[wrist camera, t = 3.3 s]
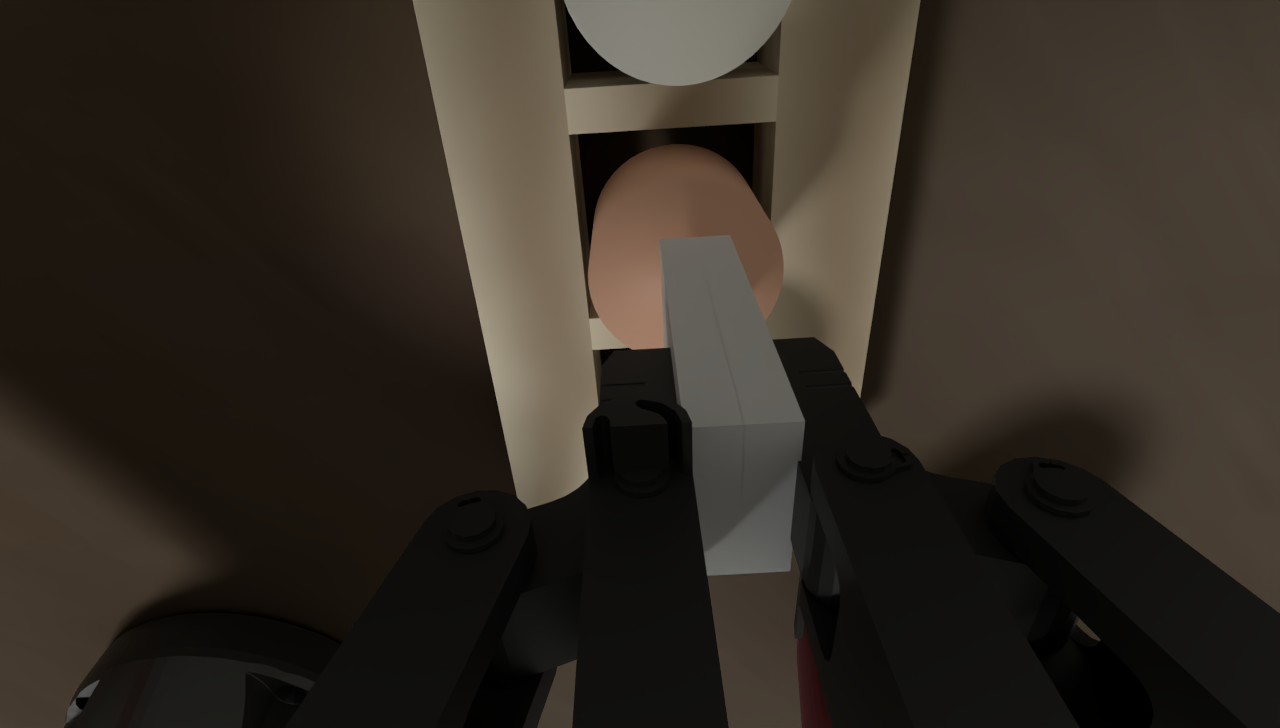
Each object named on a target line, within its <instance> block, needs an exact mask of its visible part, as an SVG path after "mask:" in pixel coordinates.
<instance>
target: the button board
mask: <svg viewBox="0 0 1280 728" xmlns="http://www.w3.org/2000/svg"><path fill="white" fill-rule="evenodd" d="M920 1H921V0H792V1H791V3H790V5H789V7H788V9H787V11H786V13H785V15H784V17H783V18H782V20H781V22H780V23H779V25H778V27H777V28H776V30H775V31H774V32H773V34H772V35H771V36H770V37H769V39H768V40H767V41H766V42H765V44H764V45H763V46H762V47H761V48H760V49H759V50H758V51H757V62H744V63H742V64H741V65H740V66H738V67H736V68H735V69H733V70H731V71H730V72H728V73H726V74H724V75H722V76H719V77H717V78H715V79H712V80H709V81H706V82H702V83H698V84H692V85H685V86H666V85H659V84H652V83H649V82H646V81H642V80H639V79H636V78H634V77H632V76H630V75H628V74H626V73H624V72H622V71H620V70H617V71H601V72H586V73H572V71H571V61H570V52H569V42H568V32H567V22H566V12H565V3H564V0H413V4H414V9H415V14H416V19H417V23H418V28H419V33H420V38H421V42H422V47H423V52H424V57H425V61H426V66H427V71H428V76H429V80H430V85H431V90H432V95H433V99H434V104H435V109H436V114H437V118H438V123H439V128H440V133H441V137H442V142H443V147H444V152H445V156H446V161H447V166H448V171H449V176H450V180H451V185H452V190H453V195H454V199H455V204H456V209H457V214H458V218H459V223H460V228H461V233H462V237H463V242H464V247H465V252H466V256H467V261H468V266H469V271H470V275H471V280H472V285H473V290H474V294H475V299H476V304H477V309H478V313H479V318H480V323H481V328H482V332H483V337H484V342H485V347H486V351H487V356H488V361H489V366H490V370H491V375H492V380H493V385H494V389H495V394H496V399H497V404H498V408H499V413H500V418H501V423H502V427H503V432H504V437H505V442H506V446H507V451H508V456H509V461H510V466H511V470H512V475H513V480H514V485H515V489H516V494H517V498H518V499H519V500H520V501H522V502H523V503H524V504H525V505H526V506H527V509H529V508H532V507H535V506H539V505H542V504H545V503H548V502H552V501H554V500H557V499H559V498H562V497H564V496H566V495H568V494H569V493H571V492H573V491H574V490H576V489H577V488H579V487H580V486H581V485H582V484H583V483H584V482H585V481H586V480H587V479H588V471H587V463H586V455H585V448H584V440H583V432H582V427H583V425H584V422H585V420H586V417H587V415H589V414H590V413H591V412H592V411H593V410H594V409H595V408H596V407H598V406H599V404H600V388H601V387H600V383H601V367H602V365H601V355H600V350H601V349H618V348H629V347H627V346H626V345H624V344H623V343H622V342H620V341H619V340H618V339H617V338H616V337H615V336H613V335H612V333H611V332H610V331H609V330H608V329H607V328H606V327H605V325H604V324H603V322H602V321H601V319H600V318H599V316H598V314H597V312H596V310H595V308H594V305H593V302H592V299H591V296H590V291H589V285H588V268H589V259H590V247H589V238H588V228H587V218H586V208H585V198H584V189H583V179H582V169H581V159H580V149H579V140H578V134H587V133H603V132H619V131H635V130H650V129H666V128H682V127H698V126H714V125H729V124H745V123H755V126H754V153H753V180H752V192H753V194H754V195H755V197H756V199H757V200H758V202H759V204H760V205H761V207H762V208H763V210H764V212H765V213H766V215H767V217H768V218H769V220H770V222H771V223H772V225H773V227H774V229H775V231H776V233H777V235H778V237H779V241H780V244H781V247H782V253H783V260H784V274H783V281H782V286H781V290H780V293H779V297H778V299H777V301H776V304H775V306H774V308H773V309H772V311H771V313H770V315H769V316H768V318H767V319H766V320H765V323H766V325H767V328H768V330H769V333H770V335H771V338H772V339H789V338H806V337H815V338H816V339H818V340H819V341H820V342H822V343H823V344H825V345H826V346H827V347H829V348H830V349H832V350H833V351H834V352H835V354H836V355H837V357H838V359H839V361H840V363H841V364H842V366H843V368H844V372H846V373H847V375H848V377H849V379H850V381H851V383H852V387H854V388H855V390H856V392H857V393H858V395H859V397H860V395H861V389H862V382H863V376H864V369H865V363H866V356H867V349H868V343H869V336H870V330H871V323H872V317H873V310H874V303H875V297H876V290H877V284H878V277H879V271H880V264H881V257H882V251H883V244H884V238H885V231H886V225H887V218H888V211H889V205H890V198H891V192H892V185H893V178H894V172H895V165H896V159H897V152H898V146H899V139H900V132H901V126H902V119H903V113H904V106H905V100H906V93H907V86H908V80H909V73H910V67H911V60H912V54H913V47H914V40H915V34H916V27H917V21H918V14H919V7H920Z"/></svg>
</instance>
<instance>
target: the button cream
mask: <svg viewBox="0 0 1280 728" xmlns="http://www.w3.org/2000/svg"><path fill="white" fill-rule="evenodd" d="M791 1H792V0H564V2H565V4H566V7H567V9H568V12H569V14H570V15H571V17H572V19H573V21H574V23H575V25H576V26H577V28H578V30H579V31H580V32H581V34H582V35H583V37H584V38H585V39H586V41H587V42H588V43H589V44H590V45H591V46H592V47H593V49H594V50H595V51H596V52H597V53H598V54H599V55H600V56H601V57H603V58H604V59H605V60H606V61H607V62H609V63H610V64H611V65H613V66H614V67H616V68H617V69H619V70H620V71H622V72H624V73H626V74H628V75H630V76H632V77H634V78H636V79H639V80H642V81H646V82H649V83H652V84H659V85H666V86H685V85H692V84H698V83H702V82H706V81H709V80H712V79H715V78H717V77H719V76H722V75H724V74H726V73H728V72H730V71H731V70H733V69H735V68H736V67H738V66H740V65H741V64H742V63H744V62H745V61H746V60H747V59H749V58H750V57H751V56H753V55H754V54H755V53H756V52H757V51H758V50H759V49H760V48H761V47H762V46H763V45H764V44H765V42H766V41H767V40H768V39H769V37H770V36H771V35H772V34H773V32H774V31H775V30H776V28H777V27H778V25H779V23H780V22H781V20H782V18H783V17H784V15H785V13H786V11H787V9H788V7H789V5H790V3H791Z"/></svg>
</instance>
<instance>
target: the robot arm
mask: <svg viewBox="0 0 1280 728" xmlns="http://www.w3.org/2000/svg"><path fill="white" fill-rule="evenodd" d="M659 243H660V267H661V291H662V316H663V340H664V348H653V349H636V350H619V351H613V353H612V354H611V355H610V357H609V358H608V359H607V360H606V362H605V363H604V364H603V366H602V367H601V383H600V387H601V388H600V404H599V406H598V407H596V408H595V409H594V410H593V411H592V412H591V413H590V414H589V415H587V417H586V420H585V422H584V425H583V427H582V432H583V440H584V448H585V455H586V463H587V471H588V479H587V480H586V481H585V482H584V483H583V484H582V485H581V486H580V487H579V488H577V489H576V490H574V491H573V492H571V493H569V494H568V495H566V496H564V497H562V498H559V499H557V500H554V501H552V502H548V503H545V504H542V505H539V506H535V507H532V508H529V509H527V506H526V505H525V504H524V503H523V502H522V501H520V500H519V499H518V498H517V497H516V496H514V495H511V494H508V493H504V492H501V491H476V492H472V493H469V494H465V495H462V496H458V497H456V498H454V499H452V500H450V501H449V502H447V503H445V504H444V505H442V506H440V507H439V508H437V509H436V510H435V511H434V512H433V513H432V515H431V516H430V517H429V518H428V519H427V520H426V521H425V522H424V523H423V525H422V526H421V527H420V529H419V530H418V532H417V533H416V535H415V536H414V538H413V539H412V541H411V542H410V544H409V545H408V547H407V548H406V550H405V551H404V553H403V554H402V555H401V557H400V558H399V560H398V561H397V563H396V564H395V566H394V567H393V569H392V570H391V572H390V573H389V575H388V576H387V578H386V579H385V581H384V582H383V583H382V585H381V586H380V588H379V589H378V591H377V592H376V594H375V595H374V597H373V598H372V600H371V601H370V603H369V604H368V606H367V607H366V609H365V610H364V611H363V613H362V614H361V616H360V617H359V619H358V620H357V622H356V623H355V625H354V626H353V628H352V629H351V631H350V632H349V634H348V635H347V637H346V638H345V639H344V641H343V642H342V644H341V645H340V644H339V643H337V642H335V641H333V640H331V639H329V638H326V637H324V636H322V635H319V634H317V633H314V632H312V631H309V630H307V629H304V628H300V627H297V626H294V625H291V624H287V623H284V622H280V621H276V620H271V619H266V618H261V617H255V616H249V615H240V614H229V613H192V614H182V615H175V616H169V617H164V618H160V619H156V620H153V621H150V622H147V623H144V624H141V625H139V626H137V627H134V628H132V629H131V630H129V631H127V632H125V633H124V634H122V635H121V636H119V637H118V638H117V639H116V640H115V641H114V642H113V643H112V644H111V645H110V646H109V647H108V648H107V650H106V651H105V652H104V654H103V655H102V656H101V658H100V659H99V660H98V662H97V663H96V664H95V666H94V667H93V668H92V669H91V671H90V672H89V673H88V675H87V676H86V677H85V679H84V680H83V681H82V683H81V684H80V685H79V687H78V689H77V691H76V692H75V694H74V696H73V698H72V700H71V703H70V706H69V709H68V712H67V715H66V725H65V727H64V728H537V725H538V723H539V720H540V717H541V714H542V711H543V708H544V705H545V703H546V700H547V697H548V694H549V691H550V688H551V685H552V683H553V680H554V677H555V674H556V669H557V666H560V665H563V664H565V663H568V662H571V661H573V660H576V659H577V666H576V681H575V696H574V711H573V727H572V728H729V727H728V720H727V713H726V706H725V699H724V692H723V685H722V678H721V670H720V663H719V656H718V649H717V642H716V635H715V628H714V621H713V614H712V607H711V599H710V592H709V585H708V578H707V576H710V575H729V574H747V573H765V572H784V571H790V567H791V557H792V547H793V549H794V553H795V556H796V560H797V563H798V567H799V570H800V578H799V587H798V596H797V605H796V614H795V623H794V629H795V638H803V631H804V624H805V628H806V632H807V635H808V639H809V643H810V646H811V650H812V654H813V657H814V661H815V665H816V668H817V672H818V676H819V679H820V683H821V687H822V690H823V694H824V698H825V701H826V705H827V709H828V712H829V716H830V720H831V723H832V727H833V728H1280V613H1278V612H1277V611H1276V610H1274V609H1273V608H1272V607H1270V606H1269V605H1268V604H1266V603H1265V602H1264V601H1262V600H1261V599H1260V598H1258V597H1257V596H1256V595H1254V594H1253V593H1252V592H1250V591H1249V590H1248V589H1246V588H1245V587H1244V586H1242V585H1241V584H1240V583H1239V582H1237V581H1236V580H1235V579H1233V578H1232V577H1231V576H1229V575H1228V574H1227V573H1225V572H1224V571H1223V570H1221V569H1220V568H1219V567H1217V566H1216V565H1215V564H1213V563H1212V562H1211V561H1209V560H1208V559H1207V558H1205V557H1204V556H1203V555H1201V554H1200V553H1199V552H1197V551H1196V550H1195V549H1193V548H1192V547H1191V546H1189V545H1188V544H1187V543H1185V542H1184V541H1183V540H1181V539H1180V538H1179V537H1177V536H1176V535H1175V534H1173V533H1172V532H1171V531H1169V530H1168V529H1167V528H1166V527H1164V526H1163V525H1162V524H1160V523H1159V522H1158V521H1156V520H1155V519H1154V518H1152V517H1151V516H1150V515H1148V514H1147V513H1146V512H1144V511H1143V510H1142V509H1140V508H1139V507H1138V506H1136V505H1135V504H1134V503H1132V502H1131V501H1130V500H1128V499H1127V498H1126V497H1124V496H1123V495H1122V494H1120V493H1119V492H1118V491H1116V490H1115V489H1114V488H1112V487H1111V486H1110V485H1108V484H1107V483H1106V482H1104V481H1103V480H1101V479H1099V478H1098V477H1096V476H1094V475H1093V474H1091V473H1089V472H1087V471H1086V470H1084V469H1082V468H1079V467H1076V466H1073V465H1070V464H1067V463H1065V462H1062V461H1059V460H1052V459H1045V458H1039V457H1030V458H1018V459H1014V460H1012V461H1009V462H1007V463H1005V464H1003V465H1001V466H1000V468H999V469H998V471H997V473H996V475H995V476H994V479H993V482H992V484H988V483H982V482H976V481H970V480H964V479H957V478H951V477H946V476H942V475H938V474H934V473H930V472H928V471H925V469H924V467H923V466H922V464H921V462H920V461H919V460H918V459H917V458H916V457H915V455H914V454H913V453H912V452H911V451H910V450H909V449H908V448H906V447H905V446H903V445H901V444H899V443H898V442H896V441H894V440H892V439H890V438H887V437H883V436H881V435H880V433H879V431H878V429H877V428H876V426H875V424H874V422H873V420H872V419H871V417H870V415H869V413H868V411H867V410H866V408H865V406H864V404H863V402H862V401H861V399H860V397H859V395H858V393H857V392H856V390H855V388H854V387H852V383H851V381H850V379H849V377H848V375H847V373H846V372H844V368H843V366H842V364H841V363H840V361H839V359H838V357H837V355H836V354H835V352H834V351H833V350H832V349H830V348H829V347H827V346H826V345H825V344H823V343H822V342H820V341H819V340H818V339H816V338H815V337H806V338H789V339H772V338H771V335H770V333H769V330H768V328H767V325H766V323H765V320H764V318H763V315H762V313H761V310H760V308H759V305H758V303H757V301H756V298H755V296H754V293H753V291H752V288H751V286H750V283H749V281H748V278H747V276H746V273H745V271H744V268H743V266H742V263H741V261H740V258H739V256H738V253H737V251H736V248H735V246H734V243H733V241H732V238H731V236H730V235H720V236H704V237H687V238H670V239H659ZM1079 618H1080V619H1081V620H1082V621H1083V622H1084V623H1085V624H1086V625H1087V626H1088V627H1089V628H1090V629H1091V630H1092V631H1093V632H1094V633H1095V634H1096V635H1097V636H1098V637H1099V638H1100V639H1101V640H1100V641H1097V640H1095V639H1093V638H1091V637H1090V636H1088V635H1087V634H1086V633H1085V632H1083V631H1082V630H1081V629H1080V628H1079V627H1078V626H1077V625H1076V623H1077V621H1078V619H1079Z"/></svg>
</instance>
